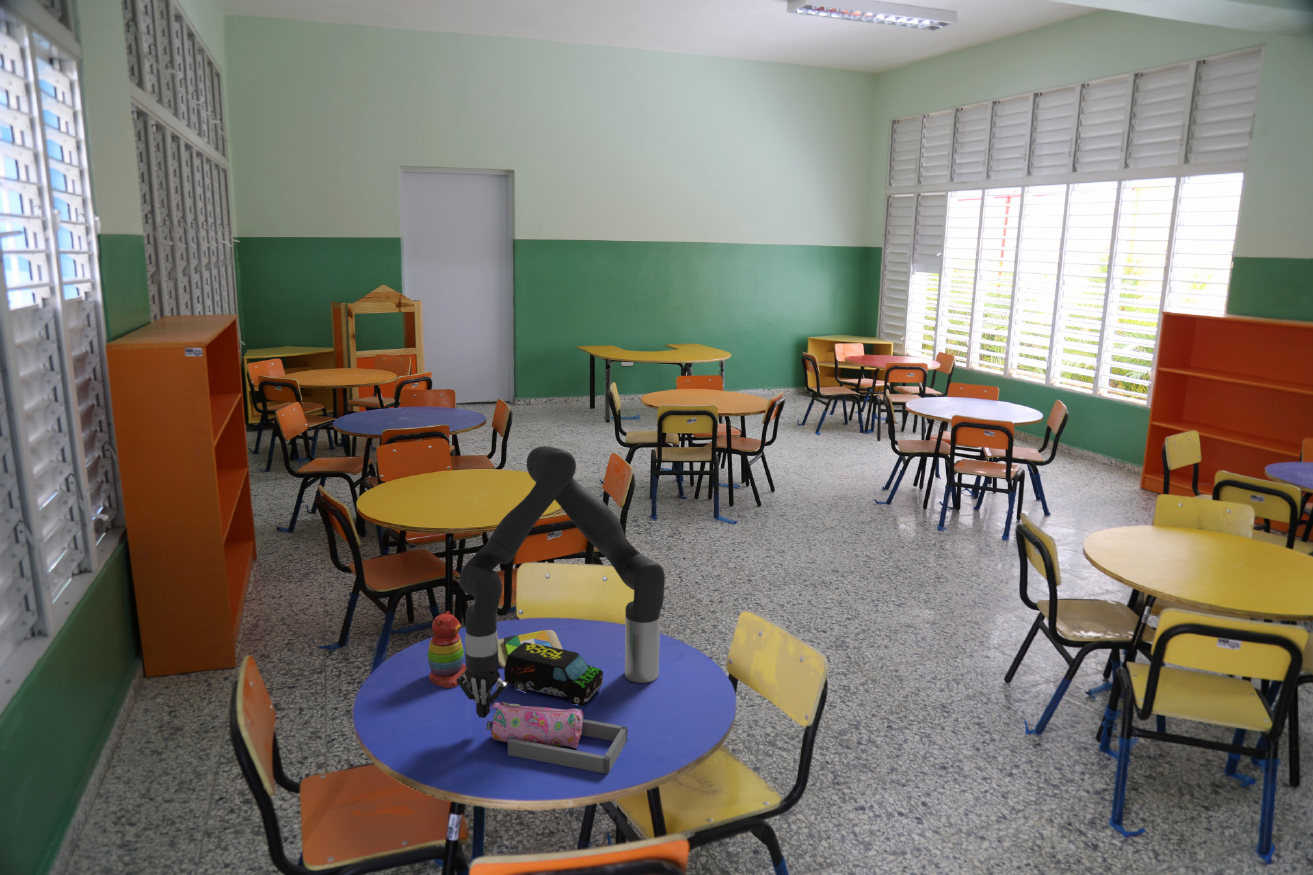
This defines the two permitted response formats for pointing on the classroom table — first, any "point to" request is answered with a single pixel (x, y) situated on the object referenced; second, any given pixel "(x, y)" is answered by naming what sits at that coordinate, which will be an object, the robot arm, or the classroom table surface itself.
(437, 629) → the stacking bear
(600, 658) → the classroom table surface
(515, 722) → the pencil case
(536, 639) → the wooden puzzle
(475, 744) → the classroom table surface
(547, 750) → the frame
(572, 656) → the toy van
